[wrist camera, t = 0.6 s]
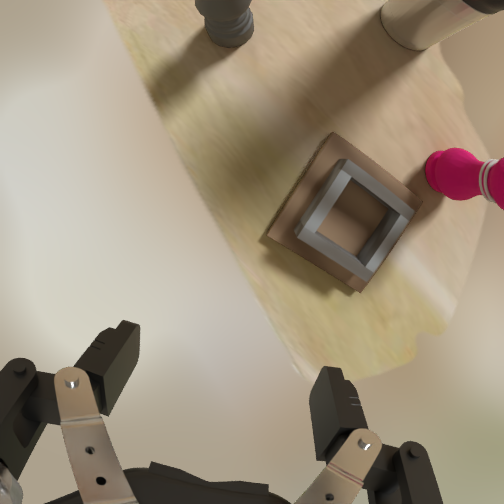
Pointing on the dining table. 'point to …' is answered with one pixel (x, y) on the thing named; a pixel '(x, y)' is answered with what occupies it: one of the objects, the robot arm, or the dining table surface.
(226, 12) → the candle holder
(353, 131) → the dining table surface
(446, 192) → the pepper mill
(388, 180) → the socket board
